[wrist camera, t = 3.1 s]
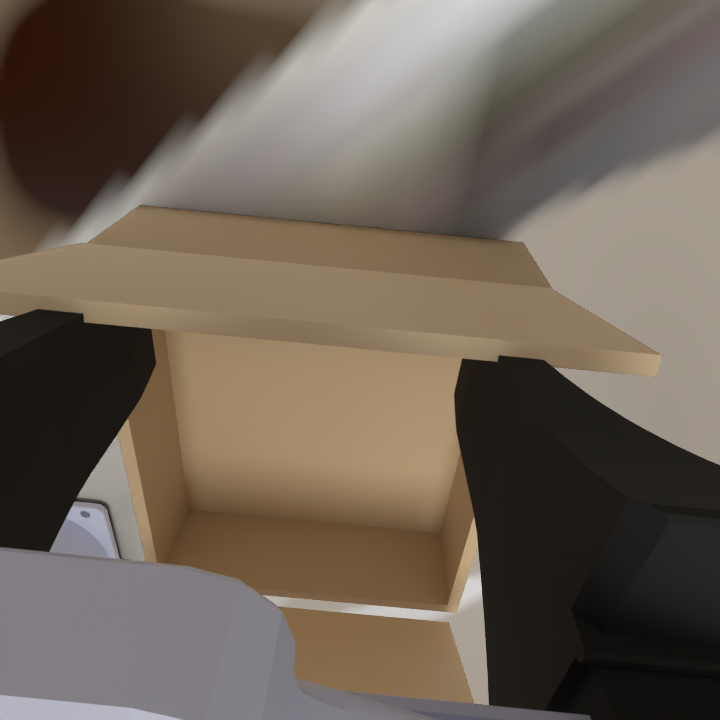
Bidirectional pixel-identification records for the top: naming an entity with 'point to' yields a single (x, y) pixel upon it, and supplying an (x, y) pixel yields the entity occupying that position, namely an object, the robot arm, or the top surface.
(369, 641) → the flap
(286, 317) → the flap
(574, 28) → the top surface
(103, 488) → the top surface
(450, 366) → the carton
